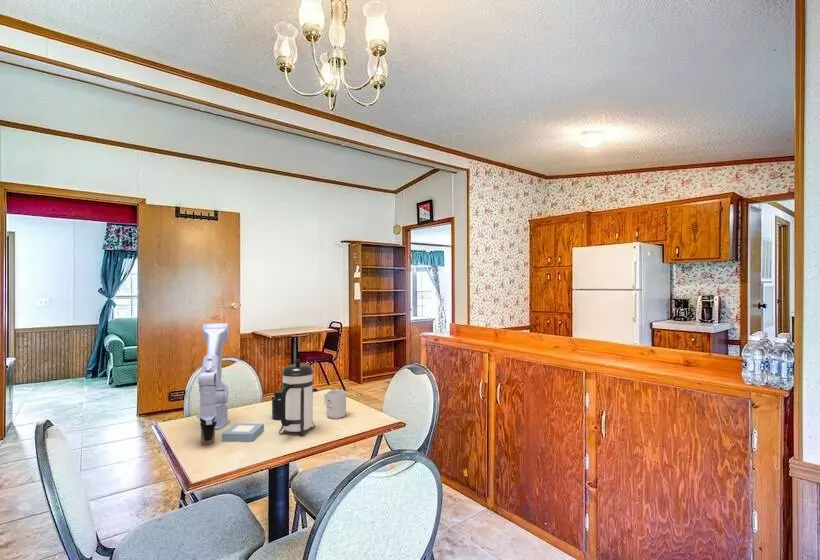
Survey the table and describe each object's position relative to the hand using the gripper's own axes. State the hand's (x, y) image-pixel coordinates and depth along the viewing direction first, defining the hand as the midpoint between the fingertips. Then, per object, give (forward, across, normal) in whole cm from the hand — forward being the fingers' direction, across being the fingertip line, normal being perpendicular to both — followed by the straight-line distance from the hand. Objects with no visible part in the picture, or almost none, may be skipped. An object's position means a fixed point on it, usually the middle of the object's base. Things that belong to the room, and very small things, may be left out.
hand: (207, 438), depth 161 cm
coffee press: (+2, +5, +33) cm, 33 cm away
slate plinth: (+2, -1, +13) cm, 13 cm away
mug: (+2, -8, +53) cm, 54 cm away
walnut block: (+2, 0, 0) cm, 2 cm away
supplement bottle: (+2, -17, +31) cm, 35 cm away
